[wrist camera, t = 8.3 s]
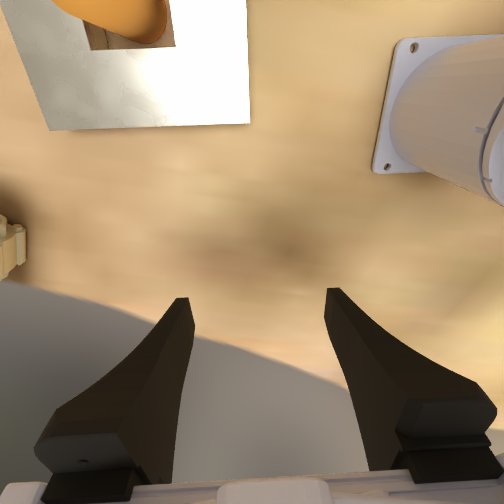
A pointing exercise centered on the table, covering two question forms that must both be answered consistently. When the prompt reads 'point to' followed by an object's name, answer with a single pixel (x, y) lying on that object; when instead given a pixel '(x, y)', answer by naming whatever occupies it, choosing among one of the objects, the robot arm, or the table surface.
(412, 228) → the table surface
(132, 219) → the table surface
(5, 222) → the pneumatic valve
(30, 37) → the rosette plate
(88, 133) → the table surface
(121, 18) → the orange cylinder
